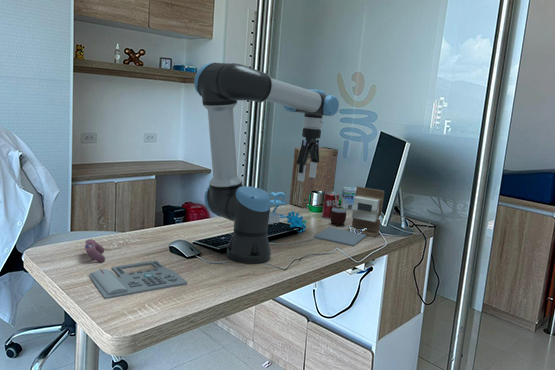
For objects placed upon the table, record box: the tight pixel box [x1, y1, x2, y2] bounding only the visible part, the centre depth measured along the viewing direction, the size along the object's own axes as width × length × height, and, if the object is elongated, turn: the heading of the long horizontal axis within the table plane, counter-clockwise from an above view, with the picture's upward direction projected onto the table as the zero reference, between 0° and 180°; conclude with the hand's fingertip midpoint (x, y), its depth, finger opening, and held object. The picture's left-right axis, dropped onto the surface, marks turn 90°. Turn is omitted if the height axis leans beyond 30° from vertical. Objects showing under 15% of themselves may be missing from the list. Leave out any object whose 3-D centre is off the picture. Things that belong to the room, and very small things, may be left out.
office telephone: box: [89, 260, 188, 300], centre depth 137 cm, size 23×3×20 cm
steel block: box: [268, 211, 281, 225], centre depth 210 cm, size 5×5×4 cm
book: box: [288, 146, 339, 209], centre depth 252 cm, size 25×9×30 cm, turn 136°
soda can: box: [321, 191, 340, 220], centre depth 227 cm, size 7×7×12 cm
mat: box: [313, 226, 367, 247], centre depth 197 cm, size 18×17×1 cm
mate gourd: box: [330, 191, 347, 228], centre depth 215 cm, size 8×8×15 cm
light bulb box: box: [340, 186, 356, 210], centre depth 252 cm, size 11×7×11 cm, turn 95°
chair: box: [267, 191, 287, 219], centre depth 221 cm, size 8×8×12 cm
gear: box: [285, 210, 308, 234], centre depth 202 cm, size 11×6×10 cm
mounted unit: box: [347, 186, 385, 238], centre depth 205 cm, size 8×12×19 cm, turn 64°
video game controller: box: [84, 238, 106, 263], centre depth 149 cm, size 10×5×7 cm, turn 21°
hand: (306, 179), depth 198 cm, fingers open, 13 cm apart
